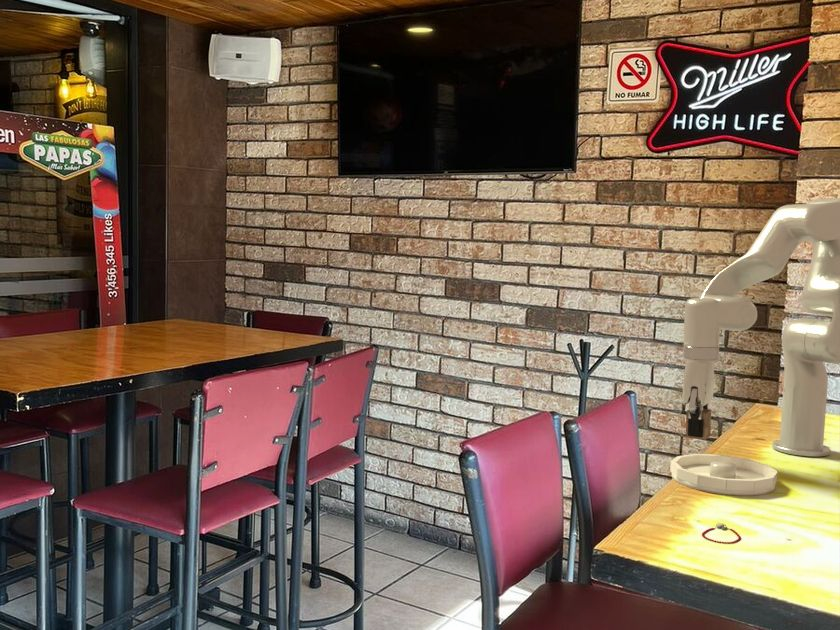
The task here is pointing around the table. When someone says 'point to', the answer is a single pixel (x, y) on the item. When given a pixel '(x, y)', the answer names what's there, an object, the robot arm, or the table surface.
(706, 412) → the wooden brick
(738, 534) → the red cord bracelet
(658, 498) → the table surface
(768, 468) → the dish
